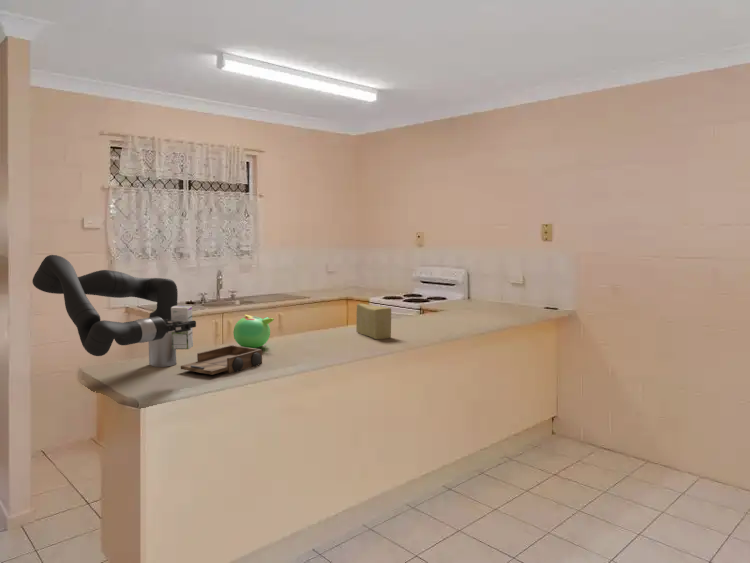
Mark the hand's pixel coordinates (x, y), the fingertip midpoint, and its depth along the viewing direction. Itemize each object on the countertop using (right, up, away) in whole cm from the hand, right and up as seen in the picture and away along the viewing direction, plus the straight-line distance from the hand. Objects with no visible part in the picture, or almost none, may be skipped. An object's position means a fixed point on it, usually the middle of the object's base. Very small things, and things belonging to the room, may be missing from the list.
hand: (186, 322), depth 198 cm
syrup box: (-1, -9, -1) cm, 9 cm away
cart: (+9, -18, +23) cm, 31 cm away
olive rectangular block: (+62, -13, +87) cm, 108 cm away
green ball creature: (+11, -15, +56) cm, 59 cm away
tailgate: (+3, -18, +11) cm, 21 cm away
